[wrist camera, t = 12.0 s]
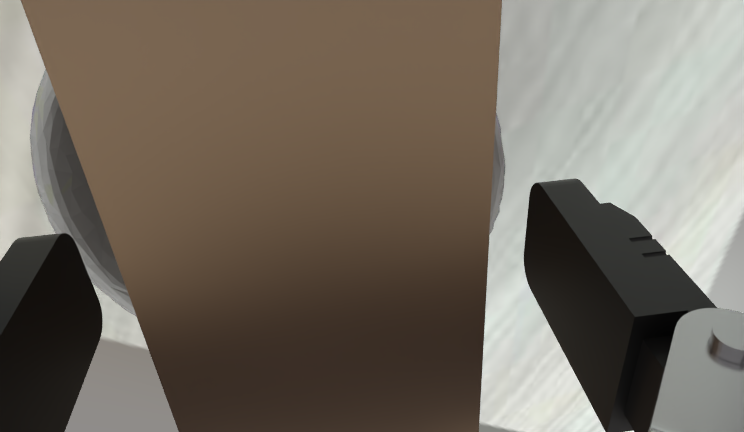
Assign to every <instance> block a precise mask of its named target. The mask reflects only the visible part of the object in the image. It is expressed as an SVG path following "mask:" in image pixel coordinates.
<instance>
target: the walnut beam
mask: <svg viewBox="0 0 744 432" xmlns="http://www.w3.org/2000/svg"><path fill="white" fill-rule="evenodd" d="M21 2H22V5H23V7H24V10H25V13H26V16H27V18H28V21H29V24H30V27H31V29H32V32H33V35H34V37H35V40H36V43H37V46H38V48H39V51H40V54H41V57H42V59H43V62H44V65H45V68H46V70H47V73H48V76H49V78H50V81H51V84H52V87H53V89H54V92H55V95H56V98H57V100H58V103H59V106H60V108H61V111H62V114H63V117H64V119H65V122H66V125H67V128H68V130H69V133H70V136H71V138H72V141H73V144H74V147H75V149H76V152H77V155H78V158H79V160H80V163H81V166H82V168H83V171H84V174H85V177H86V179H87V182H88V185H89V188H90V190H91V193H92V196H93V198H94V201H95V204H96V207H97V209H98V212H99V215H100V218H101V220H102V223H103V226H104V229H105V231H106V234H107V237H108V239H109V242H110V245H111V248H112V250H113V253H114V256H115V259H116V261H117V264H118V267H119V269H120V272H121V275H122V278H123V280H124V283H125V286H126V289H127V291H128V294H129V297H130V299H131V302H132V305H133V308H134V310H135V313H136V316H137V319H138V321H139V324H140V327H141V329H142V332H143V335H144V338H145V340H146V343H147V346H148V349H149V351H150V354H151V357H152V359H153V362H154V365H155V367H156V370H157V373H158V376H159V379H160V381H161V384H162V386H163V389H164V392H165V395H166V398H167V400H168V403H169V406H170V408H171V411H172V414H173V417H174V420H175V422H176V425H177V428H178V430H179V432H479V415H480V397H481V378H482V360H483V341H484V323H485V304H486V286H487V267H488V249H489V230H490V211H491V193H492V174H493V156H494V137H495V119H496V100H497V82H498V63H499V45H500V26H501V8H502V0H21Z"/></svg>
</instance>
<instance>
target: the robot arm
mask: <svg viewBox="0 0 744 432" xmlns="http://www.w3.org/2000/svg"><path fill="white" fill-rule="evenodd" d="M524 266H525V273H526V277H527V281H528V284H529V287H530V289H531V291H532V293H533V295H534V296H535V298H536V300H537V302H538V304H539V306H540V308H541V310H542V312H543V314H544V315H545V317H546V319H547V321H548V323H549V325H550V327H551V329H552V331H553V333H554V334H555V336H556V338H557V340H558V342H559V344H560V346H561V348H562V350H563V352H564V353H565V355H566V357H567V359H568V361H569V363H570V365H571V367H572V369H573V371H574V372H575V374H576V376H577V378H578V380H579V382H580V384H581V386H582V388H583V390H584V391H585V393H586V395H587V397H588V399H589V401H590V403H591V405H592V407H593V409H594V411H595V412H596V414H597V416H598V418H599V420H600V422H601V424H602V426H603V428H604V430H605V431H606V432H625V431H632V430H634V432H744V313H741V312H738V311H734V310H729V309H721V308H717V307H716V306H715V305H714V304H713V303H712V302H711V301H710V299H709V298H708V297H707V296H706V295H705V294H704V293H703V292H702V291H701V289H700V288H699V287H698V286H697V285H696V284H695V283H694V282H693V281H692V279H691V278H690V277H689V276H688V275H687V274H686V273H685V272H684V271H683V269H682V268H681V267H680V266H679V265H678V264H677V263H676V262H675V261H674V259H673V258H672V257H671V256H670V255H666V251H665V249H664V248H663V247H662V246H661V245H660V244H659V243H658V242H657V241H656V239H652V235H651V234H650V233H649V232H648V231H647V229H646V228H645V227H644V226H643V225H642V224H641V223H640V222H639V221H638V219H637V218H636V217H634V216H632V215H631V214H629V213H627V212H625V211H624V210H622V209H620V208H618V207H617V206H615V205H613V204H611V203H603V204H600V203H599V202H598V201H597V200H596V199H595V197H594V196H593V195H592V194H591V193H590V192H589V190H588V189H587V188H586V187H585V186H584V184H583V183H582V182H581V181H580V180H578V179H568V180H559V181H550V182H541V183H535V184H534V185H533V186H532V188H531V192H530V197H529V208H528V218H527V228H526V238H525V249H524ZM101 332H102V311H101V306H100V303H99V300H98V297H97V295H96V292H95V290H94V287H93V285H92V282H91V280H90V277H89V275H88V272H87V270H86V267H85V265H84V262H83V260H82V257H81V255H80V252H79V250H78V247H77V245H76V243H75V241H74V239H73V238H72V237H71V236H70V235H69V234H67V233H61V234H52V235H42V236H33V237H24V238H19V239H17V240H15V241H14V243H13V244H12V245H11V247H10V248H9V250H8V251H7V253H6V254H5V256H4V257H3V258H2V260H1V261H0V432H64V431H65V429H66V426H67V424H68V421H69V418H70V416H71V413H72V411H73V408H74V405H75V403H76V400H77V397H78V395H79V392H80V390H81V387H82V384H83V382H84V379H85V377H86V374H87V371H88V369H89V366H90V364H91V361H92V358H93V356H94V353H95V350H96V348H97V345H98V342H99V340H100V337H101Z"/></svg>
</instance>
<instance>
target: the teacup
mask: <svg viewBox="0 0 744 432" xmlns="http://www.w3.org/2000/svg"><path fill="white" fill-rule="evenodd" d="M30 141H31V155H32V163H33V170H34V177H35V181H36V185H37V189H38V193H39V196H40V198H41V201H42V203H43V206H44V209H45V211H46V214H47V216H48V219H49V222H50V223H51V225H52V227H53V229H54V231H55V233H56V234H61V233H67V234H69V235H70V236H71V237H72V238H73V239H74V241H75V243H76V245H77V247H78V250H79V252H80V255H81V257H82V260H83V262H84V265H85V267H86V270H87V272H88V275H89V277H90V280H91V281H92V282H93V283H94V284H95V285H96V286H97V287H98V288H99V289H100V290H101V291H103V292H104V293H105V294H106V295H108V296H109V297H110V298H111V299H113V300H114V301H115V302H116V303H118V304H119V305H120V306H121V307H123V308H124V309H125V310H127V311H128V312H130V313H132V314H133V315H135V316H136V313H135V310H134V308H133V305H132V302H131V299H130V297H129V294H128V291H127V289H126V286H125V283H124V280H123V278H122V275H121V272H120V269H119V267H118V264H117V261H116V259H115V256H114V253H113V250H112V248H111V245H110V242H109V239H108V237H107V234H106V231H105V229H104V226H103V223H102V220H101V218H100V215H99V212H98V209H97V207H96V204H95V201H94V198H93V196H92V193H91V190H90V188H89V185H88V182H87V179H86V177H85V174H84V171H83V168H82V166H81V163H80V160H79V158H78V155H77V152H76V149H75V147H74V144H73V141H72V138H71V136H70V133H69V130H68V128H67V125H66V122H65V119H64V117H63V114H62V111H61V108H60V106H59V103H58V100H57V98H56V95H55V92H54V89H53V87H52V84H51V81H50V78H49V76H48V73H47V70H45V72H44V75H43V78H42V80H41V83H40V86H39V89H38V91H37V94H36V99H35V103H34V107H33V112H32V123H31V134H30ZM504 175H505V160H504V153H503V147H502V140H501V130H500V125H499V121H498V118H497V114H496V119H495V137H494V156H493V174H492V193H491V211H490V230H489V234H490V233H491V231H492V230H493V225H494V222H495V220H496V218H497V216H498V213H499V205H500V202H501V200H502V194H503V188H504Z"/></svg>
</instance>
